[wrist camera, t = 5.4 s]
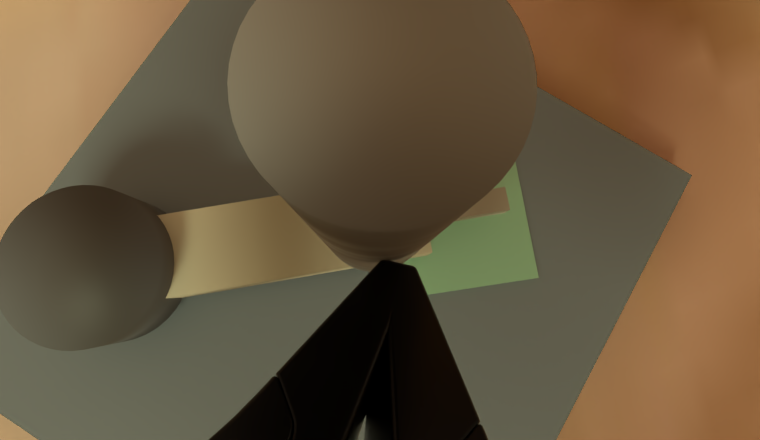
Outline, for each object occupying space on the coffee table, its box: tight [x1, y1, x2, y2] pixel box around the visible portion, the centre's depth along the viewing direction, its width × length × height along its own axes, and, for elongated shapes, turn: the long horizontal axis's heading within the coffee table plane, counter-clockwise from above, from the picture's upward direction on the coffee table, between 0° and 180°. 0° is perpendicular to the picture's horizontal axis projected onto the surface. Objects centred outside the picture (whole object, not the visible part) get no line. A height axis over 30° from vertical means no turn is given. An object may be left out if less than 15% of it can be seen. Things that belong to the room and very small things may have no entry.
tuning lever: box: [0, 0, 537, 351], centre depth 9 cm, size 14×4×10 cm, turn 100°
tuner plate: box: [0, 0, 692, 440], centre depth 15 cm, size 18×18×1 cm
